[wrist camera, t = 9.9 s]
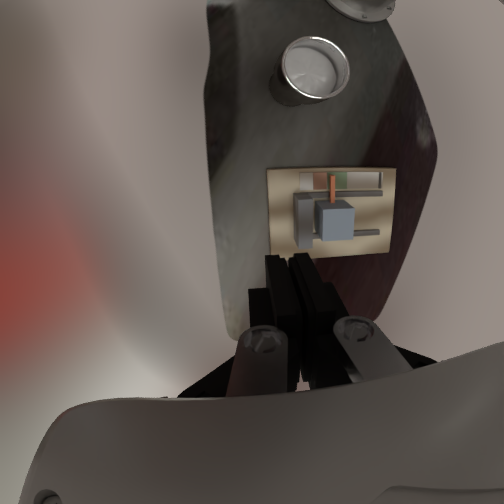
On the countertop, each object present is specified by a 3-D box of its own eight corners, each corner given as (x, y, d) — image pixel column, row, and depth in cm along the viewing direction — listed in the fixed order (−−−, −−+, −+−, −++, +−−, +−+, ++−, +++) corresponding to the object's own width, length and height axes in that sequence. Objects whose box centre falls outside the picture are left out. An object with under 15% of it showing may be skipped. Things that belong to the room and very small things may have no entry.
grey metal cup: (295, 119, 38) (324, 115, 24) (255, 90, 36) (263, 70, 23) (323, 84, 36) (365, 66, 22) (284, 55, 34) (308, 21, 20)
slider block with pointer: (314, 174, 40) (323, 179, 36) (344, 173, 40) (355, 179, 36) (314, 230, 43) (322, 241, 39) (342, 228, 43) (353, 239, 39)
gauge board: (266, 168, 41) (270, 174, 36) (392, 167, 41) (408, 173, 36) (270, 258, 47) (274, 273, 42) (385, 249, 47) (399, 262, 42)
